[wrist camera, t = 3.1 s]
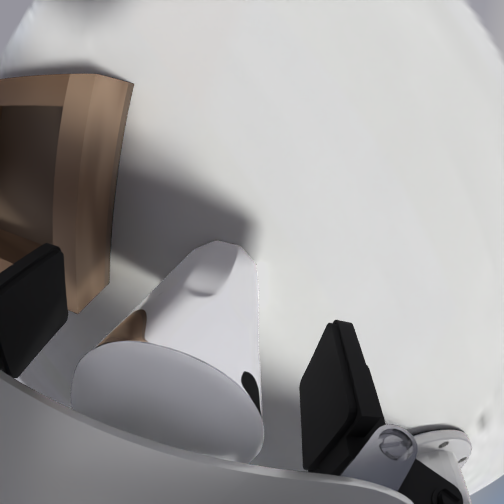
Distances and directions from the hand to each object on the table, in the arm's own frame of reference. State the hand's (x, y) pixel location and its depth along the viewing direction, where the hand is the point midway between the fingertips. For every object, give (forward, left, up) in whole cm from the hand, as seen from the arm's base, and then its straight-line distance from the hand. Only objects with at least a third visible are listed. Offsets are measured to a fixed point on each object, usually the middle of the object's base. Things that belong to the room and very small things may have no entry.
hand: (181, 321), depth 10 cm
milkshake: (0, -1, -4) cm, 4 cm away
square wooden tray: (+3, +9, -4) cm, 11 cm away
